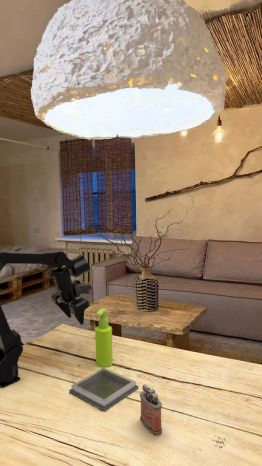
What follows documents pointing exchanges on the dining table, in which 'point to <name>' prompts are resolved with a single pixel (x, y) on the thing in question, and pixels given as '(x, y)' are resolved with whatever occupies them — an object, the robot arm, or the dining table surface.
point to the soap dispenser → (103, 341)
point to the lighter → (150, 410)
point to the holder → (103, 388)
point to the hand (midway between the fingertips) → (76, 320)
